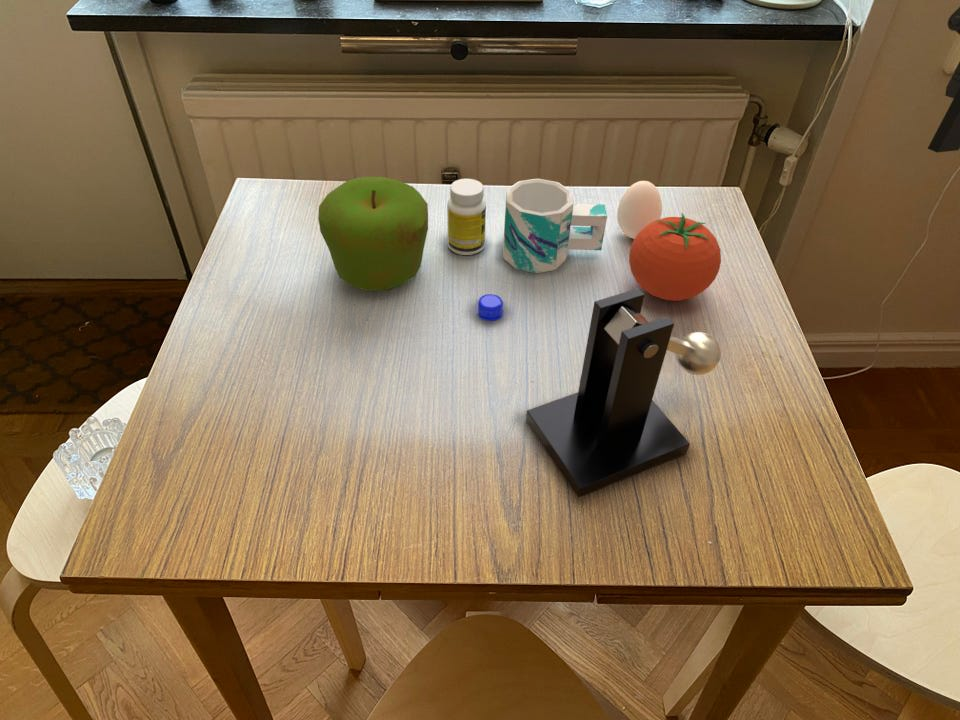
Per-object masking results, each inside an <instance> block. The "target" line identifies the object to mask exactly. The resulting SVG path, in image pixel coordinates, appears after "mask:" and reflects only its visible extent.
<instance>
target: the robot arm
mask: <svg viewBox="0 0 960 720" xmlns="http://www.w3.org/2000/svg"><path fill="white" fill-rule="evenodd" d="M947 27H948V29H949V30H950V31H952V32H953V31H954V32H956V33H957V34H958V35H960V6H959V7H957V9H956V10H955V11H954V12H953V13H952V14H951V15H950V16H949V18H948V20H947ZM944 96H945V97H948V98H951V99H952V101H951V103H950V105H949V107H948V108H947V111H946V113H945V114H944V116H943V118H942V120H941V122H940V123H939V126H938V128H937V130H936V131H935V133H934V135H933V137H932V139H931V141H930V143H929V145H928V147H927V149H928V150H930V151H933V152H935V153H946V152H954V151H955V152H956V151H959V150H960V61H959V62H958V64H957V66H956V68H955V70H954V72H953V73H952V76H951V78H950V79H949V80H948V83H947V85H946V87H945V94H944Z"/></svg>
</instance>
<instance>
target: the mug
mask: <svg viewBox="0 0 960 720" xmlns="http://www.w3.org/2000/svg"><path fill="white" fill-rule="evenodd" d="M607 219H608V214H607V209H606V204H599V203H595V204H594V203H574V195H573V191H572V190H571V189H569V188H568V187H566V186H564V185H563V184H561V183H560V182H558V181H553V180H549V179H542V178H532V179H524V180H519V181H517V182H515V183H514V184H513V185H511V186H510V187H508V188H507V189H506V192H505V209H504V224H503V228H504V229H503V241H502V243H503V244H502V254H503V255H502V257H503V258H502V259H503V260H504V261H506V262H507V264H509V265H510V266H511V267H513V269H515V270H517V271H518V270H519V271H523V272H527V273H533V274H540V273H546V272H553V271H556V270H557V269H559V267H561V266H562V264H564V263H565V262H566V261H567V255H568V250H570V251H573V250H574V251H602V248H603V242H604V237H605V233H606V232H605V231H606V227H607V221H608V220H607Z"/></svg>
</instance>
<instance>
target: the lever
mask: <svg viewBox="0 0 960 720" xmlns="http://www.w3.org/2000/svg"><path fill="white" fill-rule="evenodd" d="M649 322H650V321H649V320H647V318H646V317H645V316H644V315H643V314H642V313H638V312H635V311H633V310H630V309H628V308H625V307H621V308H620V309H619V310H618V312H617V313H616V314H615V315H614V317H613V318H612V319H611V320H610V322H609V323H608V324H607V325H606V327H605V328H604V329H605V330H606V331H607V332H608V333H609V334H610V336H611V337H612V338H613V339H614V340H615V341H616V342H617V343H618V345H619V341H620V337H621V332H622V331H625V330H628V329H631V328H634V327H637V326H640V325H643V324H646V323H649ZM667 351H668V352H670V353H674V354H675V359H676V362H677V364H678V366H679V367H680V368H681V369H682V370H683V371H684V372H686V373H687V374H690V375H695V376H702V375H706V374H708V373H711V372H712V371H714V369H716V367H717V366H718V364H720V360H721V357H722V351H721V346H720V343H718V341H717V340H716V338H714V337H713V336H712V335H711V334H709V333H707V332H702V331H693V332H691V333H688V334H686V335H685V336H683V337H682V338H678V337H675V336H673V335H671V337H670V340H669V344H668V347H667Z"/></svg>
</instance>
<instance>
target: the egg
mask: <svg viewBox="0 0 960 720" xmlns="http://www.w3.org/2000/svg"><path fill="white" fill-rule="evenodd" d="M658 189H659V188H657V186H656V185H655V184H654V183H652V182H650V181H648V180H639V181H637V182H634V183H632V184H631V185H630V186H629V187H628V188H627V189H626V191H625V192H624V193H623V194H622V196H621V198H620V200H619V203H618V207H617V210H616V220H617V224H618V227H619V229H620V230H621V232H622V233H623V234H624V235H625V236H626V237H628V238H630V239H632V240H634V239H635V237H636V236H637V234H638V233H639V232H640V231H641V230H642V229H643V228H644V227H645V226H646V225H648V224H649V223H651V222H653V221H655V220H659V219H662V214H663V213H662V212H663V202H662V198H661V194H660V191H659V190H658Z"/></svg>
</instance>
